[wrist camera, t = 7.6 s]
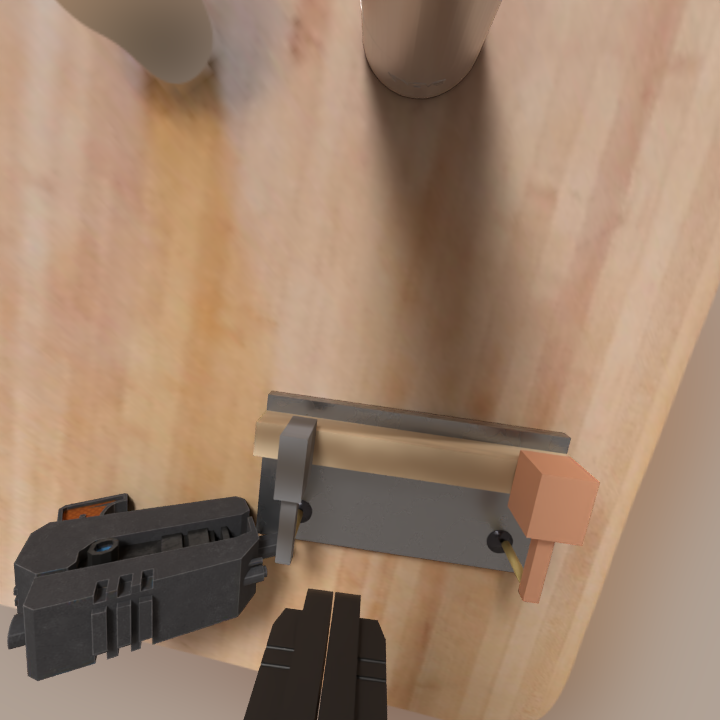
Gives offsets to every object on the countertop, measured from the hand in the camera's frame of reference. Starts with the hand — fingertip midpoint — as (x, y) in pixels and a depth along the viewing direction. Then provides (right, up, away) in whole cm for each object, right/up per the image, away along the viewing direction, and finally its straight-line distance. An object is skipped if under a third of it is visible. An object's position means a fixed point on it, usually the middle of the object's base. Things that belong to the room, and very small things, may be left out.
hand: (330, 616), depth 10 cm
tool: (-16, -8, +27) cm, 33 cm away
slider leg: (+15, -5, +23) cm, 28 cm away
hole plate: (+5, -4, +25) cm, 26 cm away
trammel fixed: (+5, -4, +24) cm, 25 cm away
